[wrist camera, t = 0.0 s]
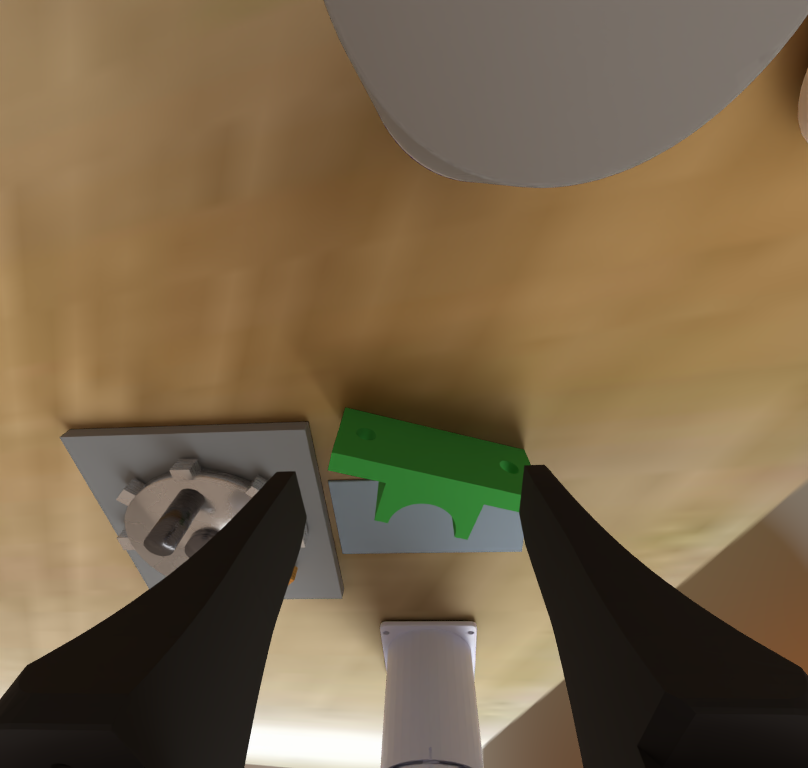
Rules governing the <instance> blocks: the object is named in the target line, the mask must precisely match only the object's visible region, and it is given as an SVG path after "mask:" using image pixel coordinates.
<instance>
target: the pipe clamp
mask: <svg viewBox="0 0 808 768" xmlns="http://www.w3.org/2000/svg"><path fill="white" fill-rule="evenodd" d="M524 465H531V464H530V462H529V460H528V457H527V455H526V453H525V450H523V449H519V448H515V447H510V446H506V445H502V444H498V443H494V442H489V441H485V440H481V439H477V438H473V437H468V436H464V435H460V434H456V433H451V432H447V431H443V430H439V429H435V428H430V427H426V426H422V425H418V424H413V423H409V422H405V421H401V420H397V419H392V418H388V417H384V416H380V415H376V414H371V413H367V412H363V411H359V410H354V409H350V408H346V407H345V411H344V414H343V417H342V421H341V424H340V427H339V430H338V434H337V437H336V440H335V443H334V447H333V450H332V454H331V458H330V463H329V467H328V470H329V471H334V472H338V473H343V474H347V475H352V476H356V477H361V478H365V479H370V480H374V481H379V483H378V492H377V501H376V510H375V519H374V520H375V521H380V522H384V523H388V522H389V520H390V518H391V517H392V515H393V514H394V513H396V512H397V511H398V510H400V509H401V508H403V507H406V506H409V505H413V504H430V505H434V506H437V507H440V508H442V509H444V510H445V511H446V512H448V513H449V514H450V515H451V516H452V521H453V529H454V537H456V538H461V539H465V540H468V538H469V536H470V533H471V531H472V529H473V527H474V525H475V523H476V521H477V518H478V516H479V514H480V512H481V510H482V508H483V505H488V506H493V507H497V508H502V509H506V510H511V511H515V512H519V508H520V499H521V490H522V481H523V472H524Z"/></svg>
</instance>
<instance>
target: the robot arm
mask: <svg viewBox="0 0 808 768" xmlns="http://www.w3.org/2000/svg"><path fill="white" fill-rule="evenodd" d="M519 516H520V521H521V526H522V531H523V535H524V540H525V545H526V548H527V551H528V554H529V557H530V560H531V563H532V566H533V569H534V572H535V575H536V578H537V581H538V584H539V587H540V590H541V593H542V596H543V599H544V602H545V605H546V608H547V611H548V614H549V617H550V620H551V624H552V627H553V631H554V634H555V638H556V643H557V647H558V651H559V655H560V660H561V664H562V668H563V673H564V677H565V682H566V686H567V691H568V695H569V700H570V704H571V709H572V713H573V718H574V723H575V727H576V732H577V738H578V742H579V747H580V752H581V756H582V762H583V767H584V768H808V675H807V674H806V673H805V672H804V671H803V669H802V668H801V667H799V666H798V665H796V664H794V663H793V662H791V661H789V660H787V659H785V658H783V657H782V656H780V655H779V654H777V653H775V652H773V651H772V650H770V649H768V648H767V647H765V646H763V645H761V644H760V643H758V642H756V641H754V640H753V639H751V638H749V637H748V636H746V635H744V634H743V633H741V632H739V631H737V630H736V629H735V628H733V627H732V626H730V625H728V624H727V623H725V622H724V621H722V620H720V619H719V618H717V617H716V616H714V615H713V614H711V613H710V612H708V611H707V610H705V609H704V608H702V607H701V606H699V605H698V604H696V603H695V602H693V601H692V600H691V599H689V598H688V597H686V596H685V595H683V594H682V593H681V592H679V591H678V590H677V589H675V588H674V587H673V586H671V585H670V584H668V583H667V582H666V581H664V580H663V579H662V578H660V577H659V576H658V575H657V574H655V573H654V572H653V571H651V570H650V569H649V568H648V567H647V566H645V565H644V564H643V563H642V562H640V561H639V560H638V559H637V558H636V557H634V556H633V555H632V554H631V553H630V552H629V551H627V550H626V549H625V548H624V547H623V546H622V545H621V544H620V543H618V542H617V541H616V540H615V539H614V538H613V537H612V536H611V535H610V534H609V533H608V532H607V531H606V530H605V529H604V528H603V527H602V526H601V525H600V524H599V523H597V522H596V521H595V520H594V518H593V517H592V516H591V515H590V514H589V513H588V512H587V511H586V510H585V509H584V508H583V507H582V506H581V505H580V504H579V503H578V502H577V501H576V500H575V499H574V497H573V496H572V495H571V494H570V493H569V492H568V491H567V490H566V489H565V487H564V486H563V485H562V484H561V483H560V482H559V481H558V479H557V478H556V477H555V476H554V475H553V474H552V472H551V471H550V470H549V469H548V468H547V467H546V466H545V465H524V472H523V481H522V490H521V499H520V508H519ZM306 519H307V515H306V511H305V507H304V503H303V499H302V495H301V491H300V487H299V483H298V479H297V475H296V471H281V472H276V473H275V474H274V475H273V476H272V477H271V478H270V479H269V480H268V481H267V482H266V483H265V484H264V486H263V487H262V488H261V489H260V490H259V491H258V492H257V493H256V494H255V495H254V496H253V497H252V498H251V499H250V500H249V502H248V503H247V504H246V505H245V506H244V507H243V508H242V509H241V510H240V511H239V512H238V513H237V514H236V515H235V516H234V517H233V518H232V519H231V520H230V521H229V522H228V523H227V524H226V525H225V526H224V527H223V528H222V529H221V530H220V531H219V532H218V533H217V534H216V535H215V536H213V537H212V538H211V539H210V540H209V541H208V542H207V543H206V544H205V545H204V546H203V547H202V548H201V549H199V550H198V551H197V552H196V553H195V554H194V555H192V556H191V557H190V558H189V559H188V560H187V561H185V562H184V563H183V564H182V565H180V566H179V567H178V568H177V569H175V570H174V571H173V572H172V573H170V574H169V575H168V576H167V577H165V578H164V579H163V580H161V581H160V582H158V583H157V584H156V585H154V586H153V587H152V588H150V589H149V590H148V591H146V592H145V593H143V594H142V595H141V596H139V597H138V598H137V599H135V600H134V601H132V602H131V603H129V604H128V605H127V606H125V607H124V608H122V609H120V610H119V611H117V612H116V613H114V614H113V615H111V616H110V617H108V618H107V619H105V620H104V621H102V622H100V623H99V624H97V625H96V626H94V627H93V628H91V629H89V630H88V631H86V632H84V633H83V634H81V635H80V636H78V637H76V638H74V639H73V640H71V641H69V642H67V643H66V644H64V645H62V646H60V647H59V648H57V649H55V650H53V651H52V652H50V653H48V654H47V655H45V656H43V657H41V658H40V659H38V660H36V661H34V662H32V663H30V664H29V665H27V666H26V667H25V668H24V670H23V671H22V672H21V673H20V675H19V676H18V677H17V678H16V680H15V681H14V682H13V684H12V685H11V686H10V687H9V689H8V690H7V691H6V693H5V694H4V695H3V696H2V698H1V699H0V768H244V766H245V760H246V755H247V749H248V744H249V739H250V734H251V729H252V724H253V719H254V714H255V709H256V704H257V699H258V695H259V690H260V685H261V681H262V676H263V672H264V667H265V663H266V659H267V655H268V650H269V646H270V642H271V638H272V634H273V630H274V627H275V624H276V620H277V617H278V614H279V611H280V608H281V605H282V602H283V599H284V596H285V593H286V590H287V587H288V584H289V581H290V579H291V576H292V573H293V570H294V567H295V564H296V561H297V558H298V554H299V551H300V548H301V544H302V539H303V535H304V529H305V524H306ZM380 633H381V639H382V646H383V652H384V659H385V665H386V671H387V675H386V691H385V707H384V723H383V739H382V755H381V768H484V766H483V757H482V747H481V738H480V729H479V719H478V710H477V701H476V692H475V682H474V680H475V659H476V639H477V625H476V623H475V622H473V621H385V622H382V623H381V624H380Z"/></svg>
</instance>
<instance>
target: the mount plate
mask: <svg viewBox="0 0 808 768" xmlns="http://www.w3.org/2000/svg"><path fill="white" fill-rule="evenodd" d="M60 439H61V440H62V442H63V444H64V445H65V447H66V449H67V451H68V452H69V454H70V456H71V457H72V459H73V461H74V462H75V464H76V466H77V467H78V469H79V471H80V473H81V474H82V476H83V478H84V479H85V481H86V483H87V484H88V486H89V488H90V489H91V491H92V493H93V495H94V496H95V498H96V500H97V501H98V503H99V505H100V506H101V508H102V510H103V511H104V513H105V515H106V516H107V518H108V520H109V522H110V523H111V525H112V527H113V528H114V530H115V532H116V533H117V535H118V536H119V534H120V533H121V532H122V531H123V529H124V528H125V522H124V521H125V513H126V510H127V507H128V506H127V505H125V504H123V503H121V502H119V501H117V500H116V499H117V498H118V496H119V495H120V494H121V492H122V491H123V489H124V488H125V487H126V486H127V485H128V484H129V483H130V482H131V481H132V479H133V478H135V479H137V480H138V481H140V482H142V483H144V484H147V483H148V482H149V481H151V480H152V479H153V478H155V477H157V476H159V475H161V474H164V473H167V472H170V471H169V470H170V469H171V468H172V466H173V465H174V464H175V463H176V461H177V460H178V459H198V461H199V464H200V466H201V469H210V470H217V471H221V472H226V473H229V474H232V475H236V476H239V477H241V478H243V479H246V480H248V481H250V482H252V480H253V479H254V478H255V477H256V476H257V475H259V476H260V477H262V478H264V479H265V480H267V481H268V480H269V479H270V478H271V477H272V476H273V475H274V474H275V473H276V472H281V471H296V475H297V479H298V483H299V487H300V491H301V495H302V499H303V503H304V507H305V511H306V515H307V519H306V525H307V529H308V533H309V537H308V540H307V543H306V547H305V548H300V551H299V554H298V558H297V561H296V564H295V566H296V567H298V570H297V573H296V577H295V580H294V581H293V582H292V583H291V584H289V585H288V587H287V590H286V593H285V596H284V599H342V597H343V592H344V587H343V582H342V577H341V573H340V568H339V563H338V559H337V554H336V549H335V545H334V540H333V535H332V531H331V526H330V521H329V516H328V512H327V507H326V502H325V498H324V493H323V488H322V484H321V479H320V474H319V470H318V465H317V460H316V456H315V451H314V446H313V441H312V437H311V432H310V427H309V423H308V422H284V423H254V424H223V425H192V426H161V427H130V428H99V429H70V430H68V431H67V432H66V433H65V434H63V435H62V436H61V437H60ZM127 552H128V554H129V555H130V557H131V559H132V560H133V562H134V564H135V566H136V567H137V569H138V571H139V572H140V574H141V576H142V577H143V579H144V581H145V582H146V584H147V586H148V588H149V589H150V588H152V587H153V586H154V585H156V584H157V583H158V582H160V581H161V580H163V579H164V577H165V576H164V575H163V574H161V573H160V572H158V571H157V570H155V569H154V568H153V567H151V566H150V565H149V564H148V563H147V562H146V561H145V560H143V559H142V558H141V556H140V555H139V554H138V553H137V552H136V551H135V550H127Z"/></svg>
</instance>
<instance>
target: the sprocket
mask: <svg viewBox="0 0 808 768" xmlns="http://www.w3.org/2000/svg"><path fill="white" fill-rule="evenodd" d="M169 471H170V472H167V473H164V474H161V475H159V476H157V477H155V478H153V479H152V480H151V481H149V482H148V483H147V484H144V483H142V482H140V481H138V480H137V479H135V478H133V479H132V481H131V482H130V483H129V484H128V485H127V486H126V487H125V488H124V489H123V491H122V492H121V494H120V495H119V496H118V498H117V499H116V500H117V501H119V502H121V503H123V504H125V505H127V506H128V507H127V510H126V513H125V521H124V522H125V528H124V529H123V531H122V532H121V533H120V534H119V536H118V537H117V539H118V541H119V543H120V544H121V546H122V548H123V549H124V550H135V551H136V552H137V553H138V554H139V555H140V556H141V558H142V559H143V560H145V561H146V562H147V563H148V564H149V565H150V566H151V567H153V568H154V569H155V570H157V571H158V572H160V573H161V574H163V575H164V576H165V577H167V576H168V575H169V574H170V573H172V572H173V571H174V570H175V569H177V568H178V567H179V566H180V565H182V564H183V563H184V562H185V561H187V560H188V559H189V558H190V557H191V556H192V555H194V554H195V553H196V552H197V551H198V550H199V549H201V548H202V547H203V546H204V545H205V544H206V543H207V542H208V541H209V540H210V539H211V538H212V537H213V536H215V535H216V534H217V533H218V532H219V531H220V530H221V529H222V528H223V527H224V526H225V525H226V524H227V523H228V522H229V521H230V520H231V519H232V518H233V517H234V516H235V515H236V514H237V513H238V512H239V511H240V510H241V509H242V508H243V507H244V506H245V505H246V504H247V503H248V502H249V500H250V499H251V498H252V497H253V496H254V495H255V494H256V493H257V492H258V491H259V490H260V489H261V488H262V487H263V486H264V484H265V483H266V482H267V480H265V479H264V478H262V477H260V476H259V475H257V476H256V477H255V478H254V479H253V480H252V482H250V481H248V480H246V479H243V478H241V477H239V476H236V475H232V474H229V473H226V472H221V471H217V470H210V469H201V466H200V464H199V461H198V459H178V460H177V461H176V463H175V464H174V465H173V466H172V468H171V469H170V470H169ZM308 537H309V533H308V529H307V525H306V524H305V529H304V535H303V539H302V544H301V548H305V547H306V543H307V540H308ZM297 570H298V567H296V566H295V567H294V570H293V573H292V576H291V579H290V581H289V584H291V583H292V582H293V581H294V580H295V577H296V573H297ZM165 577H164V578H165ZM289 584H288V585H289Z"/></svg>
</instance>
